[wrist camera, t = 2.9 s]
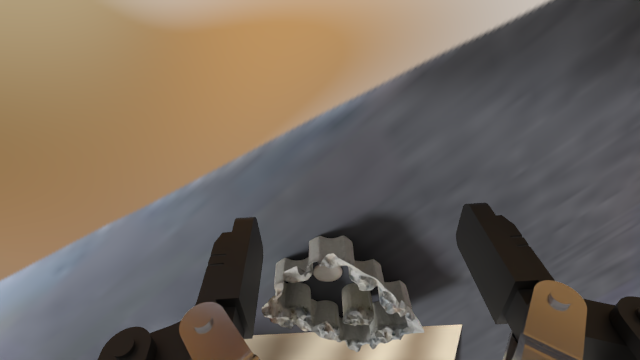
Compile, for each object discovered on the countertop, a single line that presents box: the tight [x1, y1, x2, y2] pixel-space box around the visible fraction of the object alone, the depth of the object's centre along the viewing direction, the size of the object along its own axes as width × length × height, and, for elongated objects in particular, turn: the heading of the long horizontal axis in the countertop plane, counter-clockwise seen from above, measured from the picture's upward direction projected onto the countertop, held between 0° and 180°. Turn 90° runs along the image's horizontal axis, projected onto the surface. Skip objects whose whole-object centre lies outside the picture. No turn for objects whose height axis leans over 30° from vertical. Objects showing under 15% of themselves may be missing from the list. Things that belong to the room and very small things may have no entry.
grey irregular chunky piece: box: [262, 236, 424, 352], centre depth 25 cm, size 11×8×4 cm
